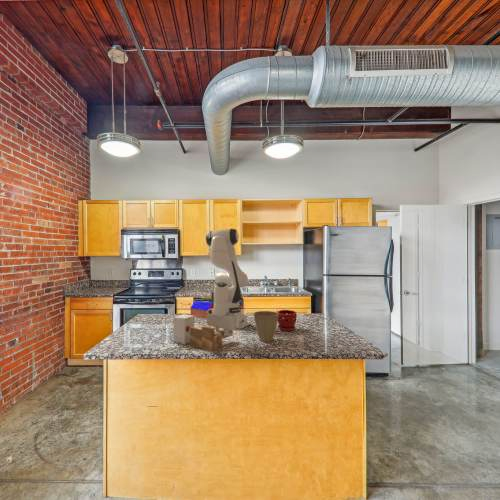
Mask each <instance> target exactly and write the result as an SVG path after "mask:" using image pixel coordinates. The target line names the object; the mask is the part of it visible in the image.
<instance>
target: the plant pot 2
mask: <svg viewBox="0 0 500 500" xmlns="http://www.w3.org/2000/svg"><path fill="white" fill-rule="evenodd" d="M277 313H278V314H279V315H278V322H277V325H278V326H277V328H278V329H279V330H280V331H285V332H291V331H293V330H295V329H296V326H295V325H296V322H297V316H298V315H297V312H296V311H294V310H290V309H281V310H278V311H277Z"/></svg>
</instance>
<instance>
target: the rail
mask: <svg viewBox="0 0 500 500" xmlns="http://www.w3.org/2000/svg"><path fill="white" fill-rule="evenodd" d="M233 331H234V330H228V331H227V333H226V336H225V337H224V336H222V340H223V339H227V338H230V337H233V334H234V333H233ZM222 333H224V329H221V330H219V331H218V332H216V331H215V336H217V335H220V334H221V335H223V334H222Z"/></svg>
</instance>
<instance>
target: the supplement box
mask: <svg viewBox="0 0 500 500" xmlns="http://www.w3.org/2000/svg"><path fill="white" fill-rule="evenodd" d="M172 323H173V325H172V326H173V328H172V329H173V330H172V333H173V334H172V336H173V337H172V338H173V340H172V342H173V343H176V344H182V345H186V344H190V327H195V317H194V316H193V315H191V314H186V313H185V314H184V313H183V314H180V315H175V316H173V322H172Z"/></svg>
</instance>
